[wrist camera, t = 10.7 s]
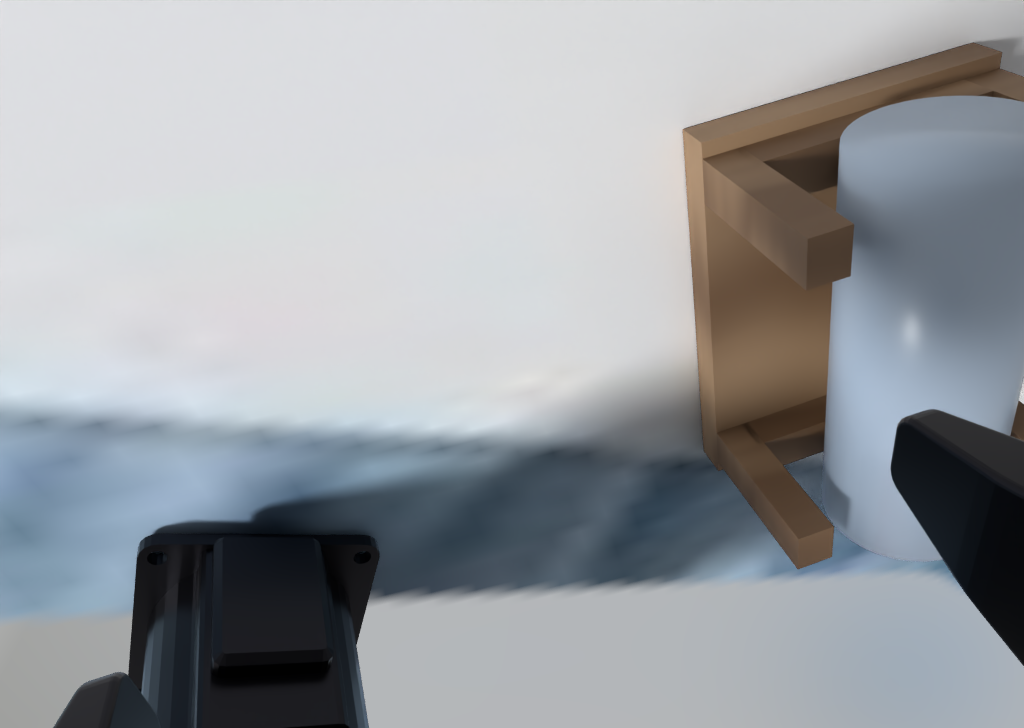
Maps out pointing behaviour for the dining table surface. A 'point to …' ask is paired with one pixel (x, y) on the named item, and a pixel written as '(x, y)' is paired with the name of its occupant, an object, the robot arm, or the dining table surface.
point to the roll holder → (788, 274)
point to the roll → (922, 297)
